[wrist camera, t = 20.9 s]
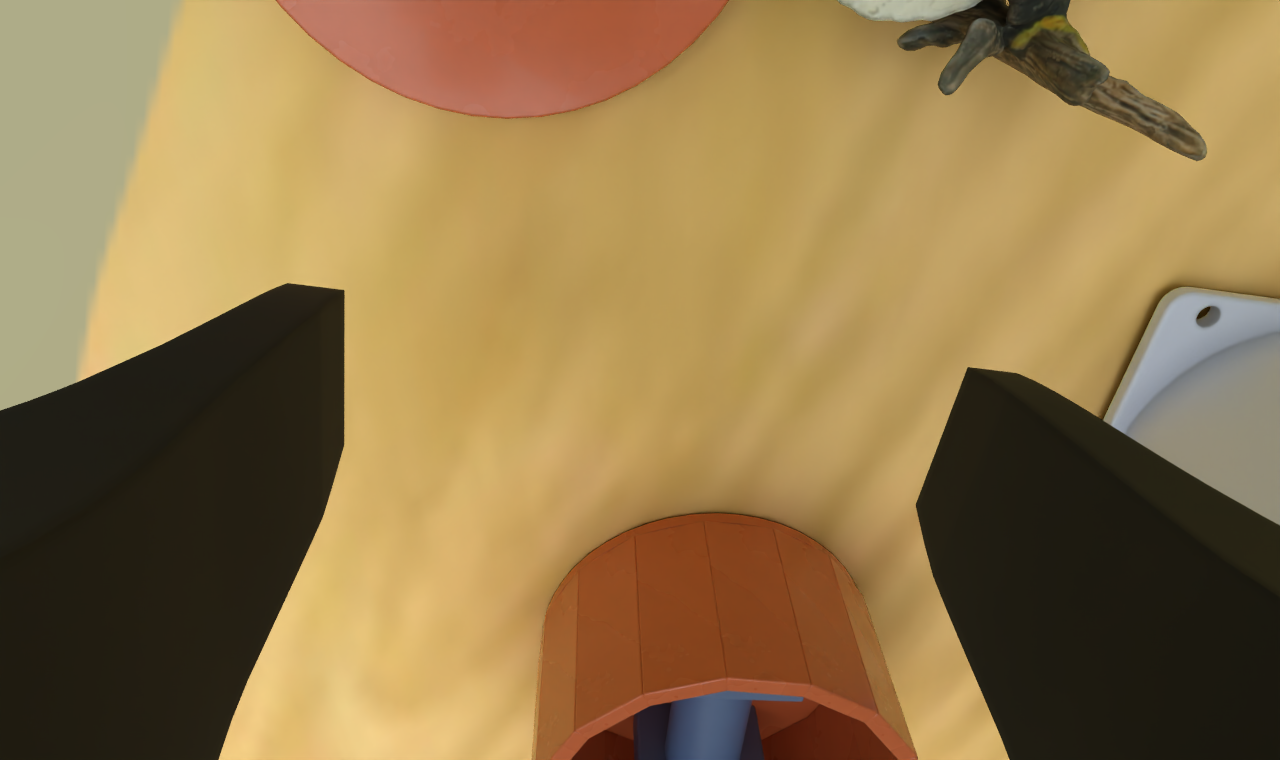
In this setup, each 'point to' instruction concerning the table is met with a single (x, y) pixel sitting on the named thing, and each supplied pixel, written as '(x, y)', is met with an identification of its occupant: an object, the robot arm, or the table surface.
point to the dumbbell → (702, 728)
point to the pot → (715, 642)
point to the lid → (505, 48)
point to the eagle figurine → (1032, 57)
